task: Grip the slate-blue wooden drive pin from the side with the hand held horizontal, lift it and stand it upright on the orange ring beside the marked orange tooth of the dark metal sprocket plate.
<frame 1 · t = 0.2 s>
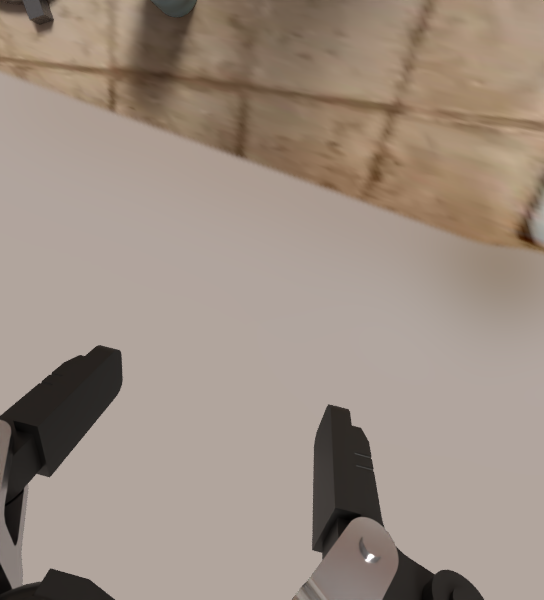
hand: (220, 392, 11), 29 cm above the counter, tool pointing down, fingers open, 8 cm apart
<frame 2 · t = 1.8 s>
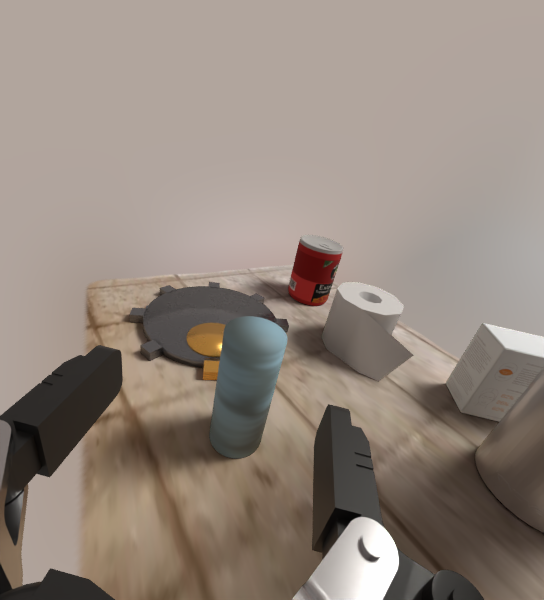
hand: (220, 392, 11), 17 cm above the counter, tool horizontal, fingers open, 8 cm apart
sprocket plate: (213, 323, 45), on the counter
drive pin: (235, 434, 29), on the counter
small box: (480, 405, 40), on the counter
toilet tissue: (355, 352, 46), on the counter
canned food: (306, 297, 59), on the counter
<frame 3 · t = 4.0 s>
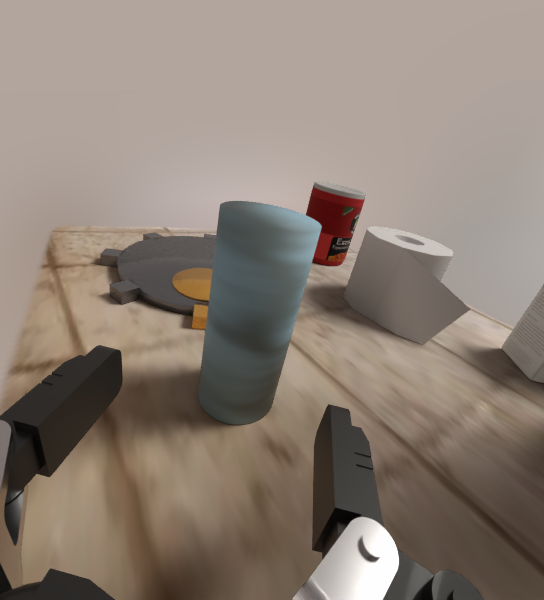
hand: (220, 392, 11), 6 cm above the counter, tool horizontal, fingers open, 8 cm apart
sprocket plate: (208, 273, 36), on the counter
drive pin: (236, 393, 20), on the counter
toilet tissue: (387, 313, 36), on the counter
canned food: (319, 257, 50), on the counter
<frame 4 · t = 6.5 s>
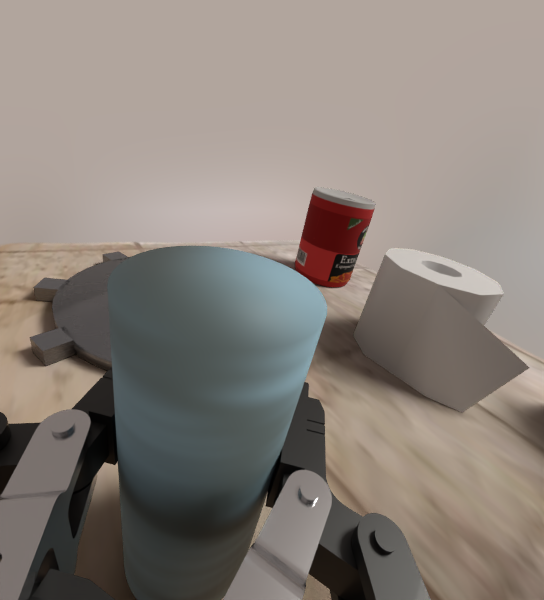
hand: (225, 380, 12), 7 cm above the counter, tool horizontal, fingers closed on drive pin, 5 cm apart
sprocket plate: (179, 306, 28), on the counter
drive pin: (189, 536, 13), on the counter, touching gripper
toilet tissue: (409, 360, 28), on the counter
canned food: (320, 276, 42), on the counter
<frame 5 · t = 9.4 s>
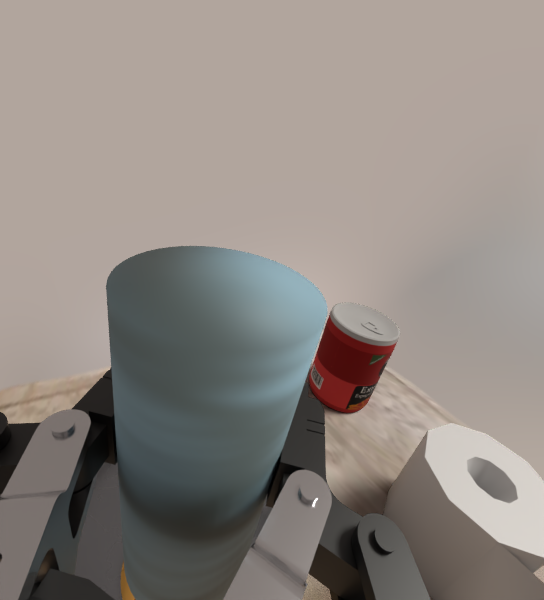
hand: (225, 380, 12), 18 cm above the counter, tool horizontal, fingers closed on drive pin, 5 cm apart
sprocket plate: (185, 488, 25), on the counter
drive pin: (189, 537, 13), point 11 cm above the counter, touching gripper
toilet tissue: (448, 558, 25), on the counter
canned food: (336, 391, 39), on the counter
when the fingers open (9 cm above the counter, at t = 12.3 s): drive pin drops 1 cm, resting on sprocket plate.
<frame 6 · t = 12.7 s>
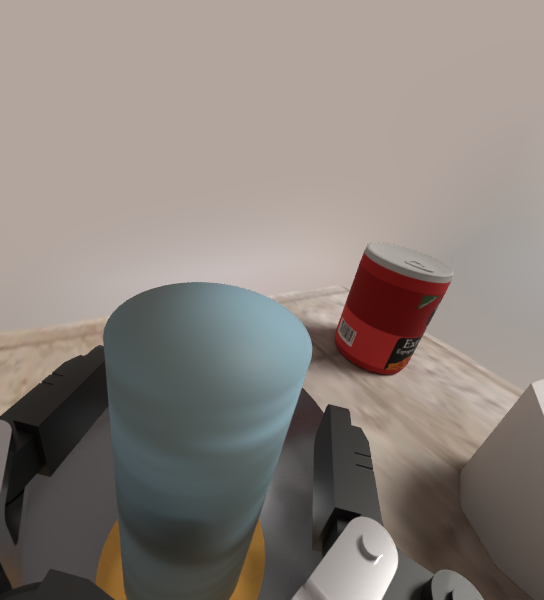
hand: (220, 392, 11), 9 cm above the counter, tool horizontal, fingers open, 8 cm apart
sprocket plate: (191, 456, 19), on the counter
drive pin: (186, 552, 13), point 2 cm above the counter, touching sprocket plate
canned food: (367, 352, 33), on the counter
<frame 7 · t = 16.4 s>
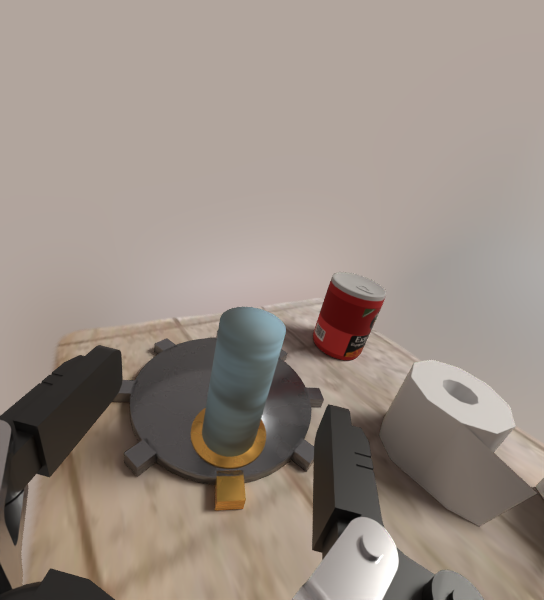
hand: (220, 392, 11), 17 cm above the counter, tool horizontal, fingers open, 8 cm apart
sprocket plate: (224, 398, 33), on the counter
drive pin: (229, 431, 28), point 1 cm above the counter, touching sprocket plate
toilet tissue: (429, 461, 32), on the counter
canned food: (335, 346, 48), on the counter
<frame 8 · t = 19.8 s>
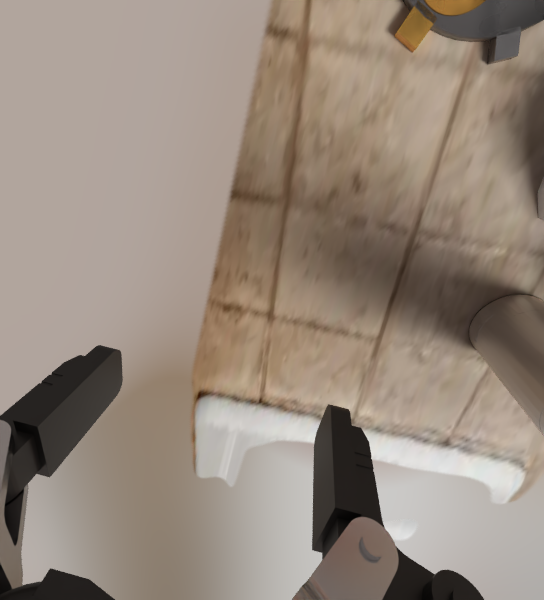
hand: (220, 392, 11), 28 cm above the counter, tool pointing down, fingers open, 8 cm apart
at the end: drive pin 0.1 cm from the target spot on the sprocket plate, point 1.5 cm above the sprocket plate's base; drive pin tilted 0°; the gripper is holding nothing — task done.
